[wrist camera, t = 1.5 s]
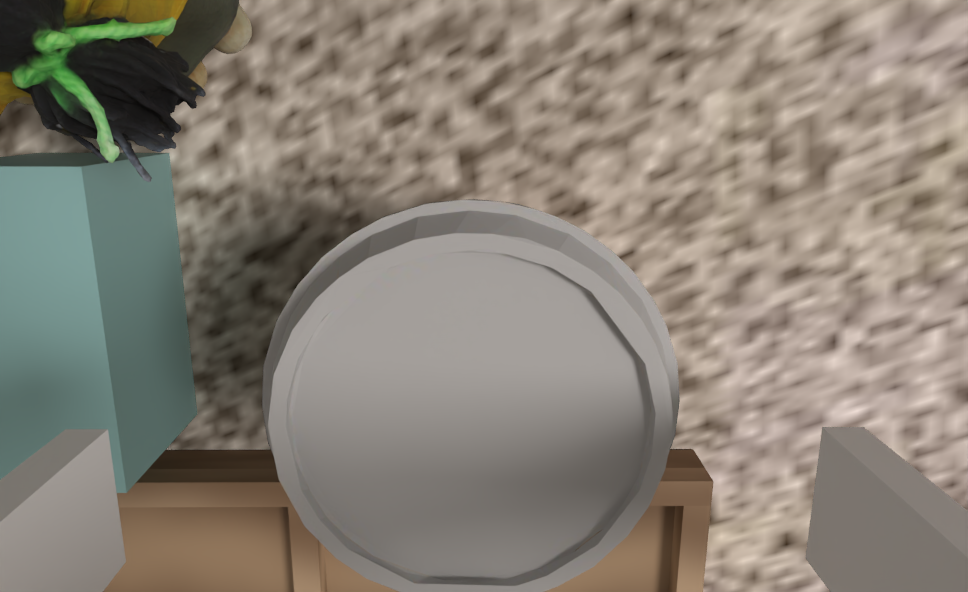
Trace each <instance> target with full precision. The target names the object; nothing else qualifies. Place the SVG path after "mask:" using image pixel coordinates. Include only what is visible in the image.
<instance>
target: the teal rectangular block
mask: <svg viewBox="0 0 968 592" xmlns="http://www.w3.org/2000/svg"><path fill="white" fill-rule="evenodd" d="M135 155H136V156H137V158H138V159H139V161H140V163H141V164H142V166H143V167H144V168H145V170H146V171H147V172H148V173H149V175H150V176H151V177H152V179H151V182H147V181H145V180H143V178H142V177H141V176H140V175H139V173H138V172H137V170H136V168H135V167H134V166H133V165H132V164H131V162H130V161H129V159H128V158H127V156H126V154H125V153H119V156H118V157H117V158H116V159H115V161H114V162H113V163H110V162H108V163H105V162H104V161H103V160H102V159H101V158H99V157H97V156H96V155H95V154H94V153H34V154H25V155H16V156H7V157H0V480H1V479H2V478H3V477H4V476H6V475H7V474H8V473H10V472H11V471H12V470H14V469H15V468H16V467H17V466H19V465H20V464H21V463H23V462H24V461H25V460H26V459H28V458H29V457H30V456H32V455H33V454H34V453H36V452H37V451H38V450H39V449H41V448H42V447H43V446H45V445H46V444H47V443H48V442H50V441H51V440H52V439H54V438H55V437H56V436H58V435H59V434H60V433H61V432H63V431H64V430H65V429H108V433H109V440H110V448H111V455H112V463H113V470H114V477H115V485H116V492H117V493H127V492H128V491H129V490H130V489H131V488H132V486H133V485H134V484H135V483H136V482H137V481H138V480H139V479H140V477H141V476H142V475H143V474H144V473H145V472H146V471H147V470H148V469H149V467H150V466H151V465H152V464H153V463H154V462H155V461H156V460H157V459H158V457H159V456H160V455H161V454H162V453H163V452H164V451H165V450H166V449H167V447H168V446H169V445H170V444H171V443H172V442H173V441H174V440H175V439H176V437H177V436H178V435H179V434H180V433H181V432H182V431H183V430H184V429H185V427H186V426H187V425H188V424H189V423H190V422H191V421H192V420H193V418H194V417H195V416H196V415H197V407H196V397H195V388H194V379H193V370H192V360H191V351H190V342H189V332H188V323H187V314H186V305H185V295H184V286H183V277H182V268H181V258H180V249H179V240H178V231H177V221H176V212H175V203H174V193H173V184H172V175H171V166H170V156H169V153H135Z"/></svg>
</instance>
